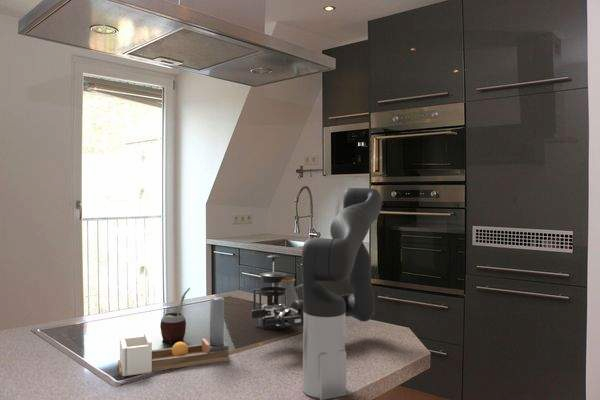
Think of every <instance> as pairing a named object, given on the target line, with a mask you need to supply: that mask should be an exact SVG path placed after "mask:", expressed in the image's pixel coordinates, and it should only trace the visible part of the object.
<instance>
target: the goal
mask: <svg viewBox="0 0 600 400" xmlns="http://www.w3.org/2000/svg"><path fill="white" fill-rule="evenodd" d="M152 346H153V342H152V340H151V337H150V334H149V333H148V331H144V332H143V335H137V336H127V337H120V338H119V360H120V362H121V367H122V376H121V377H127V376H134V375H142V374H147V373H152V372H153V371H152V350H153V349H152V348H153V347H152Z"/></svg>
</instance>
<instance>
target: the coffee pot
mask: <svg viewBox="0 0 600 400" xmlns="http://www.w3.org/2000/svg"><path fill="white" fill-rule="evenodd" d="M295 281H296V278H291V277H285V278H284V279H283V280H282V281H281V282H279V283H278V287H284V288H286V289H287V308H290V307H291V304H292V302H293V301H295V300H300V299H299V296H298V293H297V291H296V290H297V289H300V288H303V283H301V284H299V285H296V286H295V285H294V284H295ZM279 292H280V291H279ZM279 304H283V305H285V295H281V296H279Z"/></svg>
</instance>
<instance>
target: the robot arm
mask: <svg viewBox="0 0 600 400" xmlns="http://www.w3.org/2000/svg"><path fill="white" fill-rule="evenodd" d="M382 199H383V198H382V195H381V193H380V191H379V190H378V189H376V188H373V187H372V188H371V187H349V188H346V189H345V191H344V195H343V201H342V208H343V209H341V210H340V211H339V212H338V213H337V215H335V217H334V219H332V222H331V223H330V229H329V232H330V236H331V238H320V237H319V238H318V237H312V238H311V237H310V238H308V239H306V240H305V241H304V244H303V246H302V251H301V276H302V278H301V279H302V281H301V282H302V283H301V284H303V286H302V299H299V300H295V301H293V302H292V304H291V307H290V308H287V307H286V306H283V305H274V306H264V309H259V308H258V309H256V310H254V309H252V310H251V311H250V312H251V313H250V317H251V318H252V319H259V318H262V317H263V318H262V321H261V324H262V326H271V325H275V324H276V326H280V325H281V327H282V328H283V327H285V328H288V327H296V328H302V392H303V393H304V394H305V395H306V396H309V397H311V398H316V399H318V400H329V399H334V398H339V397H345V396H346V395H347V351H346V317H352V318H353V319H356V320H358V321H359V322H368V321H370V320H371V319H372V318H373V317H374V315H375V312H376V311H375V310H376V300H375V293H374V290H373V287H372V259H371V256H370V253H369V250H368V249H367V248H366V246H365V243H364V241H365V238H366V237H367V235H368V233H369V230H370V227H371V225H372V224H373V223H374V222H375V221H376V220H377V218H378V217H379V215H380V213H381V209H382V205H383V200H382ZM346 280H347V284H348V286H350V288H351V289H352V290H353V291H352V292H353V293H346V294H342V295H337V294H336V293H333V292H331V291H330V290H328V288H326V287H325V286H324V285H323V284H322V281H323V282H335V283H336V282H337V283H338V282H345V281H346ZM268 311H271V312H270V313H268ZM283 329H284V328H283Z"/></svg>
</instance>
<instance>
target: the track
mask: <svg viewBox="0 0 600 400" xmlns="http://www.w3.org/2000/svg"><path fill="white" fill-rule="evenodd" d="M187 346H188V352H187V354H186V355H183V356H174V355H173V354H172V347H169V348H161V349H160V348H159V349H152V372H156V371H158V372H159V371H164V370H163V369H165V370H169V369H170V368H172V369H177V368H178V369H179V368H184V367H193V366H200V365H206V364H212V363H214V364H215V363H221V362H228V361H229V353H228V350H221V351H213V352H206V353H204V352H203V351H202V343H200V344H193V345H187ZM117 367H118V371H119V376H120V377H123V376H122V367H121V362H120V359H119V360H118V359H117ZM168 368H169V369H168ZM170 370H171V369H170Z"/></svg>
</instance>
